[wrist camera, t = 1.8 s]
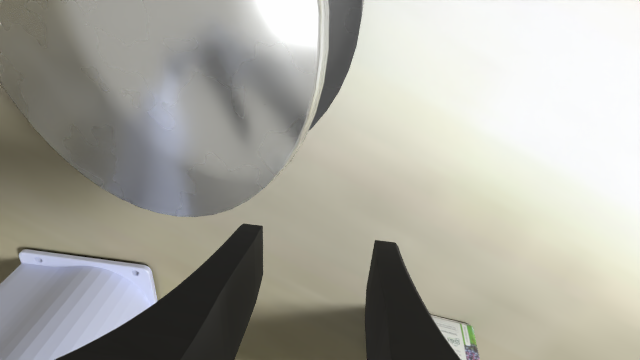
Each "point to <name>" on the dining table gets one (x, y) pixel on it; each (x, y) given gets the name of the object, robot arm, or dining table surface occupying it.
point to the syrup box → (459, 337)
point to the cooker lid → (169, 91)
